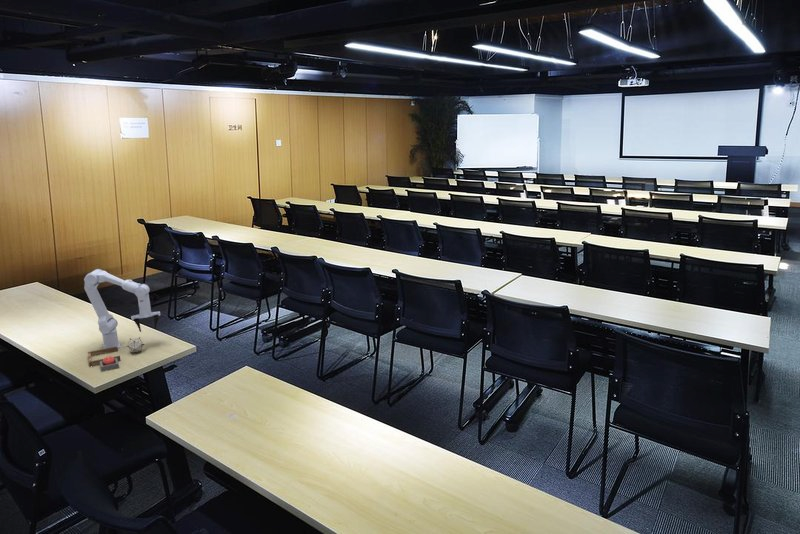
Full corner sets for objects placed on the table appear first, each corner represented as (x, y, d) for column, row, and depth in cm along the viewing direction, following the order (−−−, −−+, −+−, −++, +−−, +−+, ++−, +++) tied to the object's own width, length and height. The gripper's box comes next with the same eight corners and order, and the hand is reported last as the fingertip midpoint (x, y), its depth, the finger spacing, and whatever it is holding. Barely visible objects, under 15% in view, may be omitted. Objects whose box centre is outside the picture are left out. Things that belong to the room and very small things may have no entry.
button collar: (100, 365, 281) (99, 361, 281) (117, 362, 285) (117, 357, 285) (101, 371, 275) (100, 367, 274) (119, 367, 279) (118, 363, 278)
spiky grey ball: (138, 359, 297) (135, 350, 289) (125, 353, 298) (121, 343, 290) (149, 346, 303) (146, 337, 295) (135, 340, 304) (132, 331, 296)
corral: (88, 356, 293) (87, 351, 292) (117, 350, 300) (117, 346, 299) (89, 366, 280) (89, 362, 279) (120, 360, 287) (119, 356, 286)
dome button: (103, 363, 280) (102, 355, 279) (114, 361, 283) (113, 353, 282) (104, 366, 276) (102, 359, 275) (115, 364, 279) (113, 357, 278)
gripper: (130, 311, 293) (134, 334, 296) (159, 306, 300) (162, 329, 304) (129, 307, 299) (132, 330, 302) (158, 302, 306) (161, 325, 309)
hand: (147, 329), depth 303 cm, fingers open, 7 cm apart
